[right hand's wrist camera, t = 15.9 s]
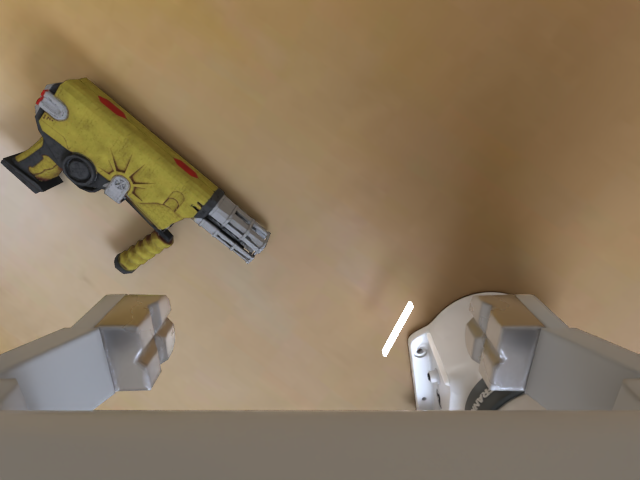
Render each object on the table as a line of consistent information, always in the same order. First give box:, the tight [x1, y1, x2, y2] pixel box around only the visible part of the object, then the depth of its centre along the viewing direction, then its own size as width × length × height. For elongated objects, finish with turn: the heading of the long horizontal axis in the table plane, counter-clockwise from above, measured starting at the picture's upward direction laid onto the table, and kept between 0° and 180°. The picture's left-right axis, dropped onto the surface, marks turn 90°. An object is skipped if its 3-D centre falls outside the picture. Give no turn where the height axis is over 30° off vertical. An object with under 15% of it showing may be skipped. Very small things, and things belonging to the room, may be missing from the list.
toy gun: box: [1, 78, 271, 274], centre depth 39 cm, size 5×24×15 cm
